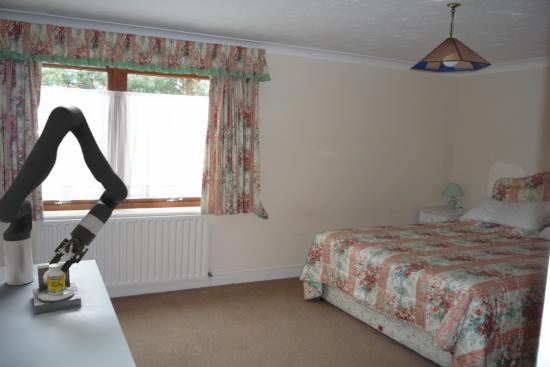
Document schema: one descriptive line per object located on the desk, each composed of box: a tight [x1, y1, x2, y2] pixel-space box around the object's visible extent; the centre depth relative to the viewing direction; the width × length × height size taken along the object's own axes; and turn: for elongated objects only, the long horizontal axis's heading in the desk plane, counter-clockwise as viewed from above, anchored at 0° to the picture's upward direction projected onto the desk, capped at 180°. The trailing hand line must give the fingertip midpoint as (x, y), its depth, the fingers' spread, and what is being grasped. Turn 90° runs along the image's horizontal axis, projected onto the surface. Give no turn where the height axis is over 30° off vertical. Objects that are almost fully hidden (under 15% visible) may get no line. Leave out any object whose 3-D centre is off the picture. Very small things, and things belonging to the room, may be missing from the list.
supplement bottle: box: [47, 262, 65, 295], centre depth 160 cm, size 5×5×10 cm
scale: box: [32, 262, 82, 315], centre depth 163 cm, size 17×14×11 cm
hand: (56, 268), depth 160 cm, fingers open, 8 cm apart
